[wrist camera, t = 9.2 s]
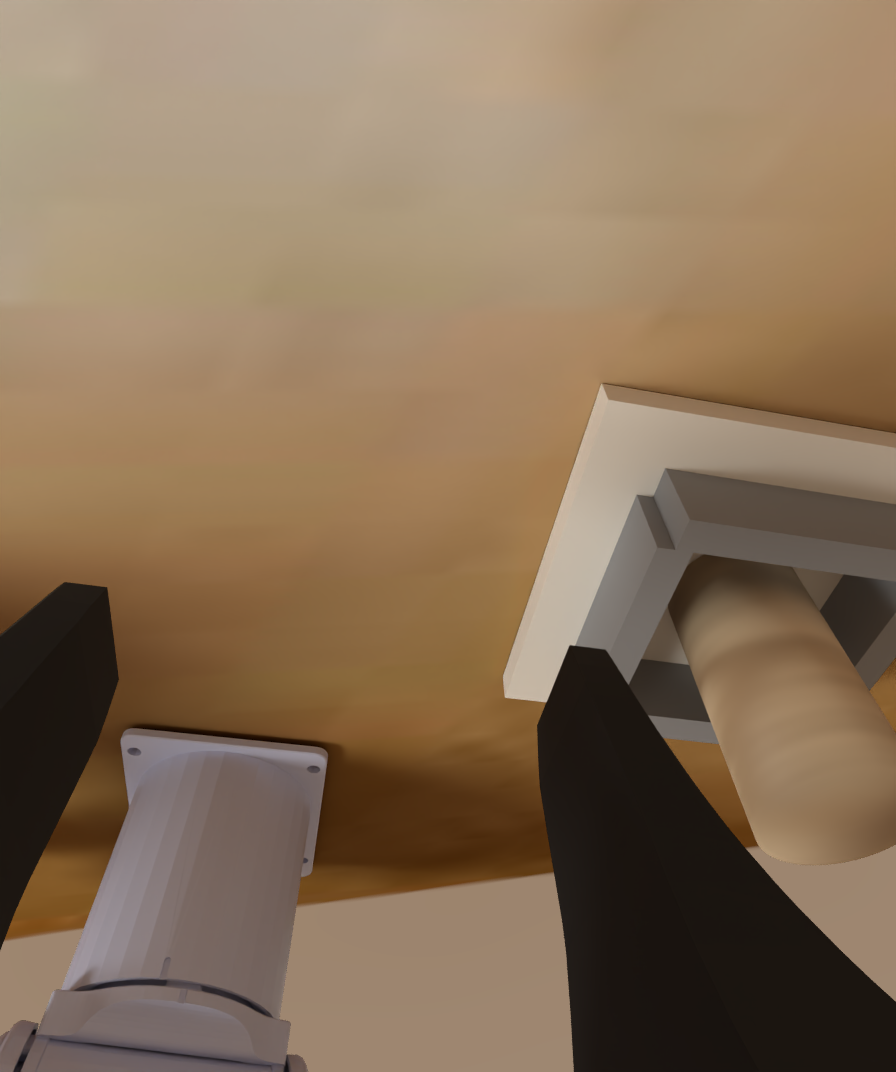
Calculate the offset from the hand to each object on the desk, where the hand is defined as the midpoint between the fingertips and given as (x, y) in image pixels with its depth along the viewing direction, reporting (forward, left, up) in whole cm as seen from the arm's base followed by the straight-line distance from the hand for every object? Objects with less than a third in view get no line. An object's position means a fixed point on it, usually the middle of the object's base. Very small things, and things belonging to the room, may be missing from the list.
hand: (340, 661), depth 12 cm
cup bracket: (-5, -12, -10) cm, 17 cm away
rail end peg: (-5, -12, -9) cm, 16 cm away
